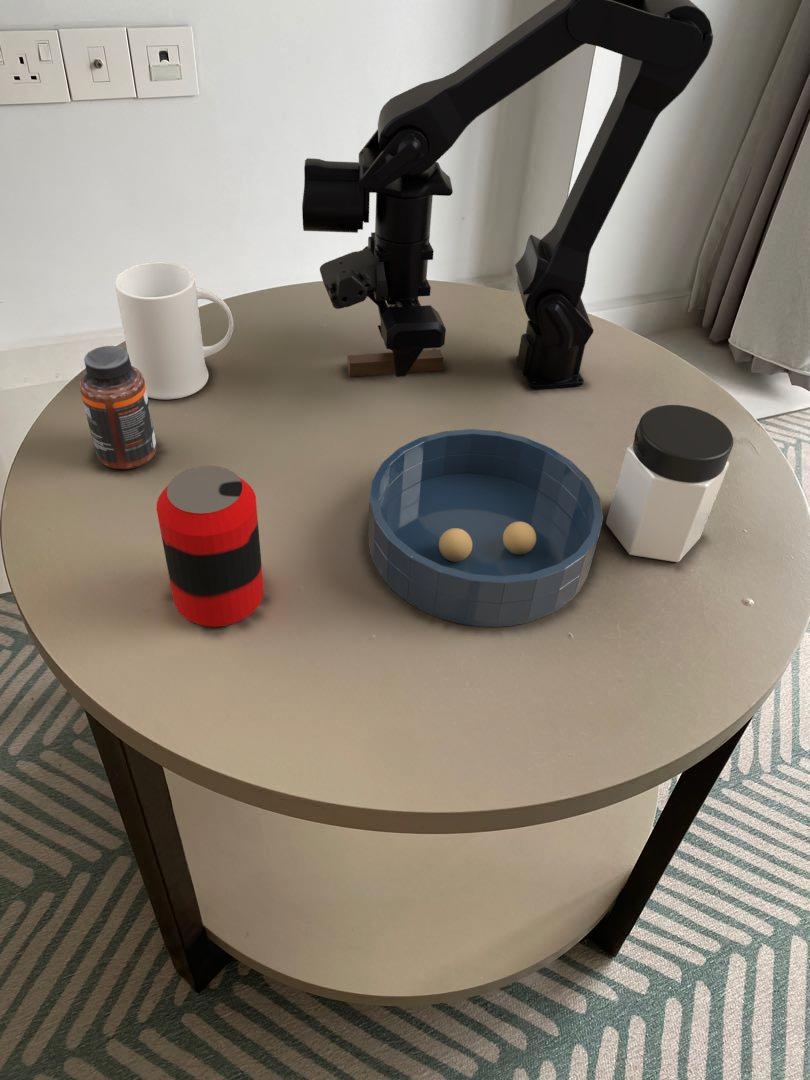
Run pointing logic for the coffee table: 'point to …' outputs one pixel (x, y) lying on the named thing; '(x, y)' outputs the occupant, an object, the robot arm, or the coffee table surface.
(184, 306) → the mug
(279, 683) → the coffee table surface
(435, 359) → the stick
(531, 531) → the cork ball
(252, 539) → the soda can
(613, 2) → the robot arm
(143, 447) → the supplement bottle
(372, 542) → the bowl
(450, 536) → the cork ball
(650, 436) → the jar
